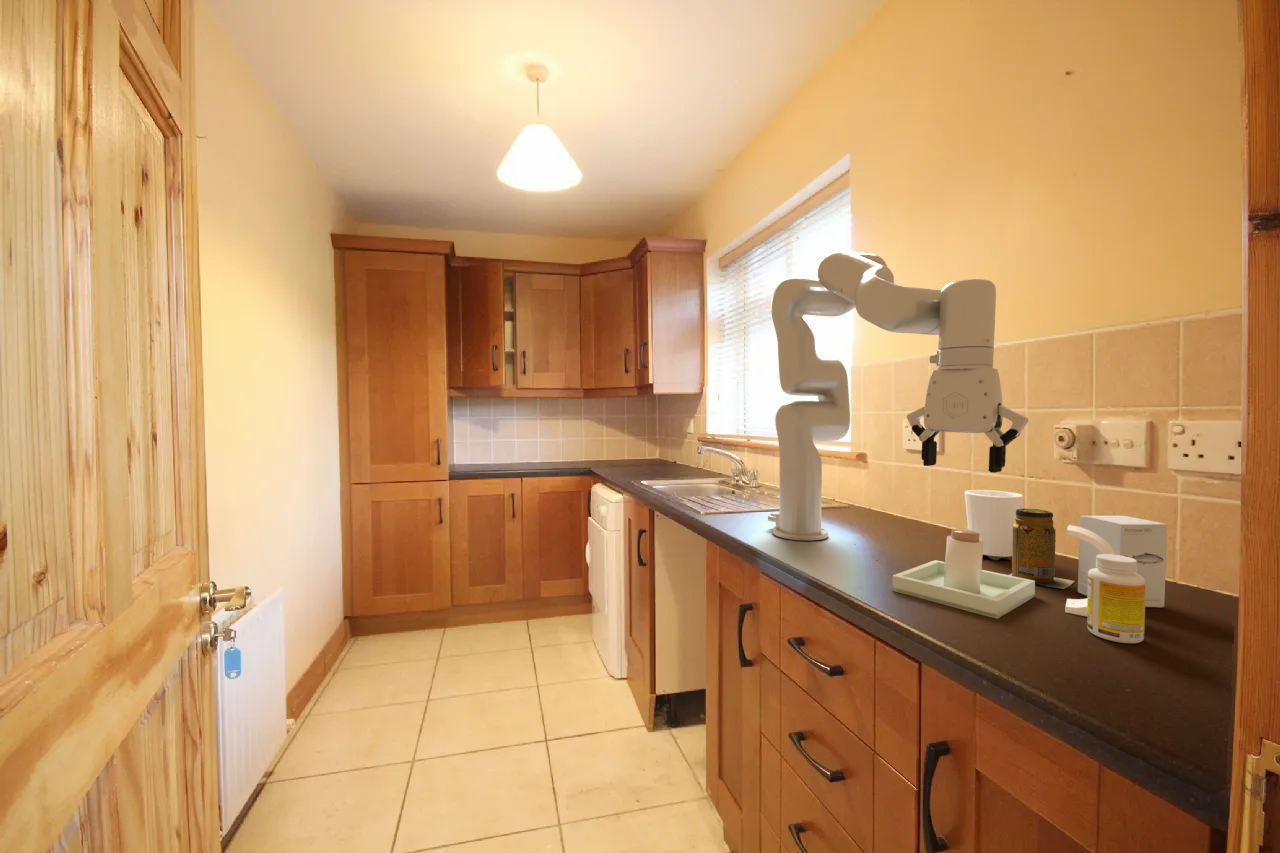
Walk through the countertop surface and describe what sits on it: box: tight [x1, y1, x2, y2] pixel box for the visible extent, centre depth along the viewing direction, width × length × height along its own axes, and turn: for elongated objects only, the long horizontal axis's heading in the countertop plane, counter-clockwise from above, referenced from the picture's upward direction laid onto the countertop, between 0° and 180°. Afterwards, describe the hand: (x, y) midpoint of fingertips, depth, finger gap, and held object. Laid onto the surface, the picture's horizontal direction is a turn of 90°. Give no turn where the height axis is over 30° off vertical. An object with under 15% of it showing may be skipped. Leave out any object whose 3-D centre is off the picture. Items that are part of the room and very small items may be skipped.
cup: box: [964, 489, 1024, 561], centre depth 108 cm, size 10×10×13 cm
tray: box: [891, 559, 1036, 620], centre depth 86 cm, size 15×15×2 cm
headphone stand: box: [1064, 524, 1117, 617], centre depth 77 cm, size 5×6×12 cm
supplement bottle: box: [1086, 554, 1146, 644], centre depth 69 cm, size 6×6×10 cm
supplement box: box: [1077, 515, 1168, 608], centre depth 83 cm, size 7×7×13 cm
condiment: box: [1008, 508, 1076, 590], centre depth 93 cm, size 7×8×12 cm
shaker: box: [944, 528, 984, 594], centre depth 86 cm, size 5×5×9 cm
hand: (961, 468), depth 86 cm, fingers open, 9 cm apart
